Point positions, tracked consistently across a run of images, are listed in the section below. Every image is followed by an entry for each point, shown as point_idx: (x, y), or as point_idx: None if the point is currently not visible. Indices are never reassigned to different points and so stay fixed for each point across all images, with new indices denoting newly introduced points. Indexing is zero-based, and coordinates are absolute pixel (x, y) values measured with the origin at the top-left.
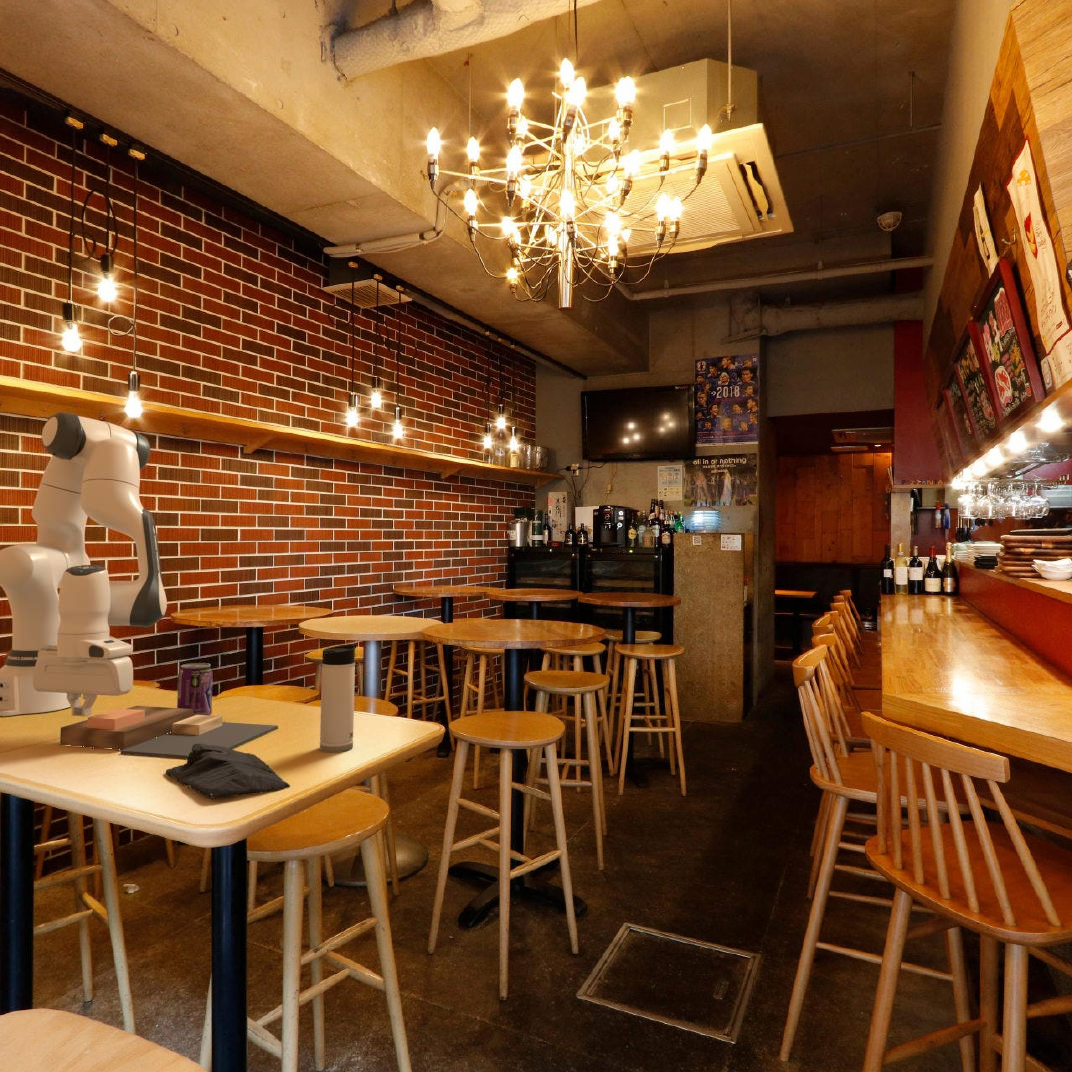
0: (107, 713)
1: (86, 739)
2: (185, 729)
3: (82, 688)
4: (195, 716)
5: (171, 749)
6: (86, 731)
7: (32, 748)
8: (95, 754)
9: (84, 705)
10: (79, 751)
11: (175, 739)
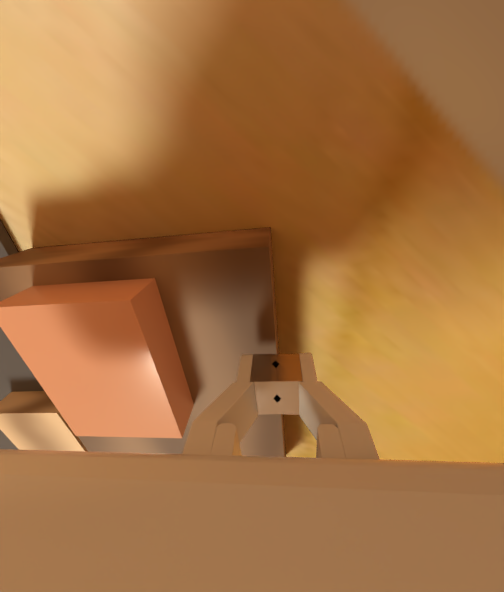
0: (135, 376)
1: (151, 244)
2: (34, 401)
3: (187, 505)
4: None
5: None
6: (135, 253)
7: (344, 161)
8: (54, 180)
9: (231, 392)
10: (139, 192)
11: (7, 352)
